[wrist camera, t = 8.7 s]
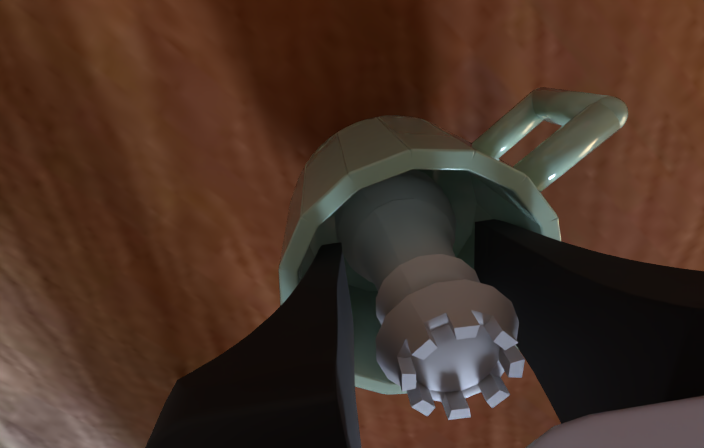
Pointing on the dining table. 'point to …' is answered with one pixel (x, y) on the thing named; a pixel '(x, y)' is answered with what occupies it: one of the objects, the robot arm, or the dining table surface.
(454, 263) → the rook chess piece
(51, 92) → the dining table surface
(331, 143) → the pale green mug
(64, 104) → the dining table surface
